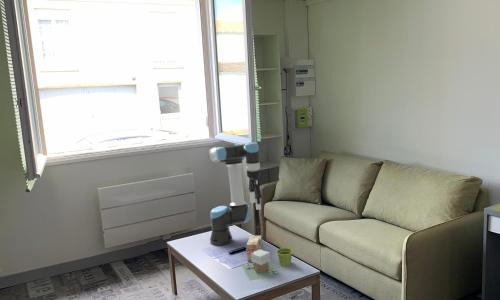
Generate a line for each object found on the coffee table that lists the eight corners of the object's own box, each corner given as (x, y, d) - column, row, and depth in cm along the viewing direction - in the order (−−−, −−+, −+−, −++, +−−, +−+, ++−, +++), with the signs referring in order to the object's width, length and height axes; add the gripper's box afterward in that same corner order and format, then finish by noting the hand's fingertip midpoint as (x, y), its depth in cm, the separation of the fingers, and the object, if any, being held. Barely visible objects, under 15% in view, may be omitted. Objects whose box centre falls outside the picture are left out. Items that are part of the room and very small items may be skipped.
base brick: (253, 268, 237) (253, 259, 236) (265, 266, 239) (265, 257, 238) (256, 273, 231) (256, 265, 230) (269, 271, 232) (268, 263, 231)
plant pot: (283, 270, 235) (282, 256, 233) (273, 264, 242) (273, 250, 241) (296, 265, 239) (296, 251, 238) (286, 260, 247) (286, 246, 246)
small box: (270, 260, 234) (270, 252, 233) (261, 265, 229) (260, 256, 228) (260, 257, 239) (260, 248, 239) (251, 261, 234) (250, 253, 233)
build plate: (242, 267, 243) (241, 263, 242) (271, 262, 246) (271, 258, 246) (249, 282, 223) (249, 279, 223) (282, 277, 227) (281, 273, 227)
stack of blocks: (252, 249, 267) (251, 230, 265) (262, 249, 266) (261, 230, 264) (247, 264, 246) (246, 244, 244) (258, 264, 245) (257, 244, 243)
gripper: (242, 166, 249) (244, 200, 252) (251, 175, 225) (254, 213, 228) (254, 165, 250) (256, 199, 254) (265, 173, 226) (267, 211, 230)
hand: (255, 205), depth 241 cm, fingers open, 13 cm apart
